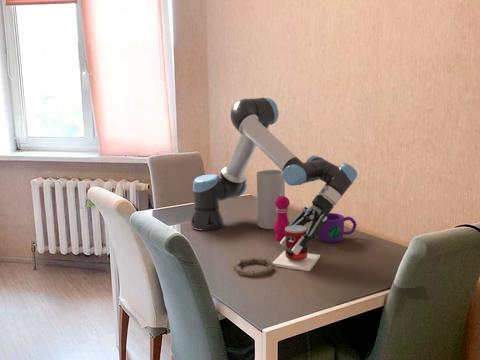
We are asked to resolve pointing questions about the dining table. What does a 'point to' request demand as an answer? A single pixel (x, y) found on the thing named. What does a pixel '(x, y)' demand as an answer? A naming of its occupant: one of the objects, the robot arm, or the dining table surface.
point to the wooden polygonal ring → (253, 273)
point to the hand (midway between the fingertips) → (288, 248)
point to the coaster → (296, 262)
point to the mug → (335, 228)
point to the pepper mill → (281, 217)
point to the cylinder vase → (268, 196)
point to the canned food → (294, 241)
